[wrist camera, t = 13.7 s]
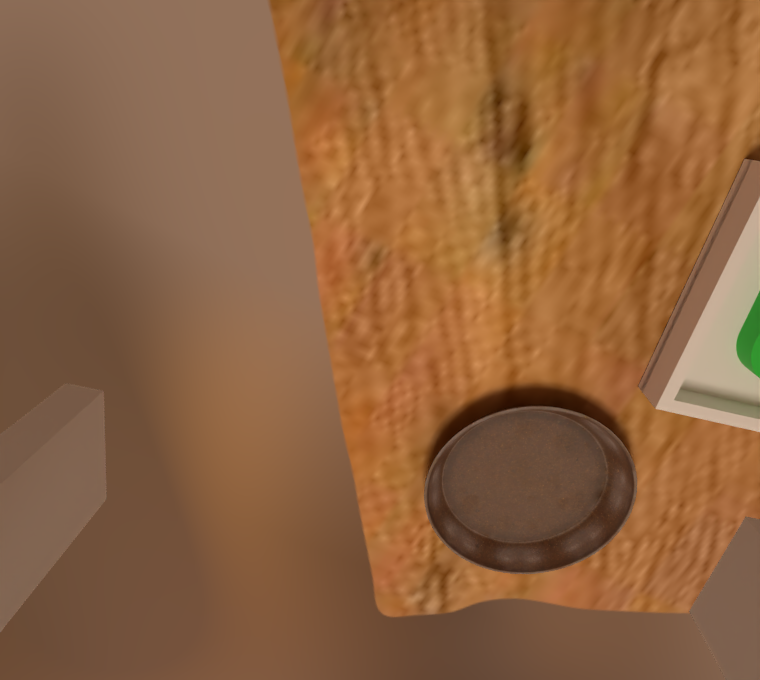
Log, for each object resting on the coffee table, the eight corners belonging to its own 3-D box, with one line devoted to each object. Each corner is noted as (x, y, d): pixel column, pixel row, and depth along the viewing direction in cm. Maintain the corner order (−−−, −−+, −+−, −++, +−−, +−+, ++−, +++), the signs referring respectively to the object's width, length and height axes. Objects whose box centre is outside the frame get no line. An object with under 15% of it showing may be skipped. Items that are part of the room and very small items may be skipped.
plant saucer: (667, 476, 47) (683, 499, 44) (515, 579, 53) (520, 605, 50) (532, 348, 43) (540, 364, 41) (383, 475, 49) (381, 497, 46)
